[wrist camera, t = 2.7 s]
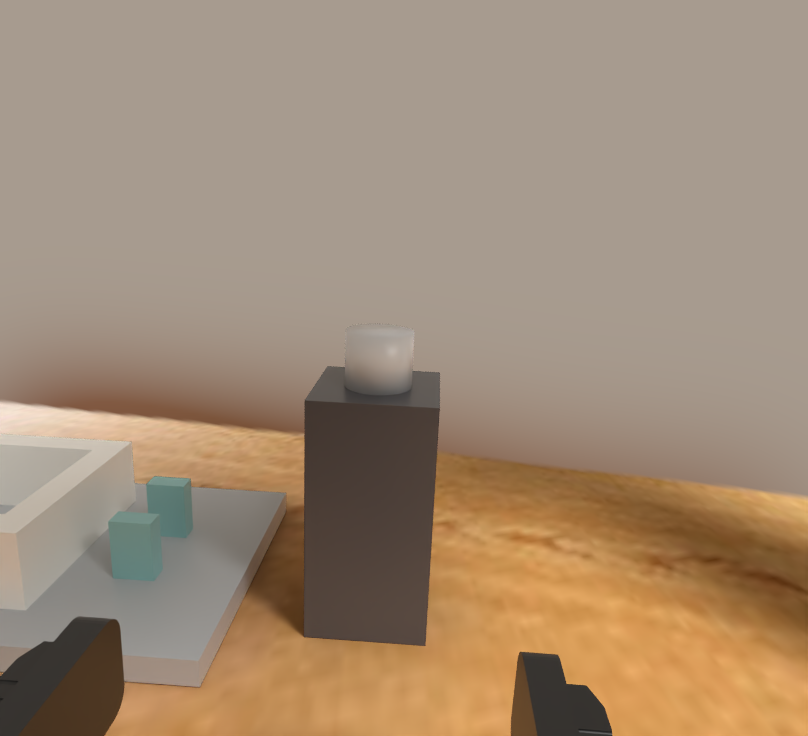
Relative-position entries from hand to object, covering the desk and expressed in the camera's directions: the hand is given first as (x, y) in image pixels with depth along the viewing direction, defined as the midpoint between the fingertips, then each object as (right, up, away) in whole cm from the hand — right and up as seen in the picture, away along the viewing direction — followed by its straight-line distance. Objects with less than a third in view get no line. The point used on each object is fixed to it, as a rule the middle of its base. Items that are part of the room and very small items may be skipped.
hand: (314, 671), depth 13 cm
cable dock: (-12, -2, +14) cm, 19 cm away
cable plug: (0, -3, +13) cm, 13 cm away
